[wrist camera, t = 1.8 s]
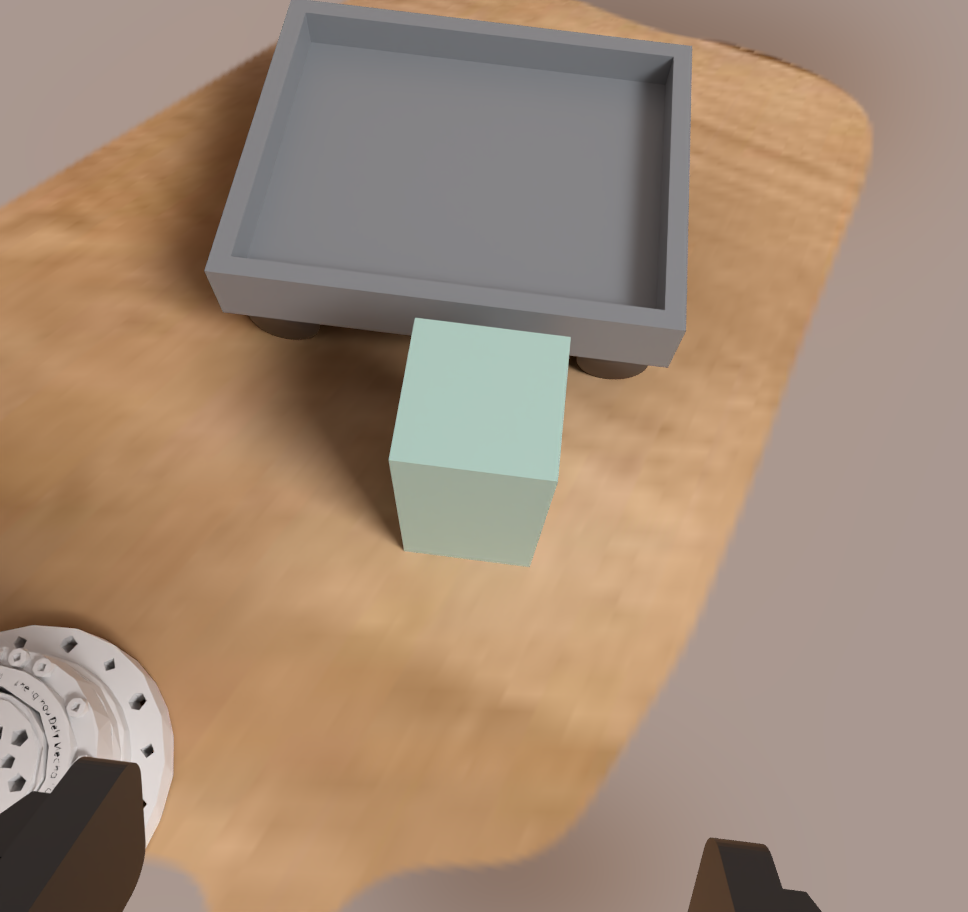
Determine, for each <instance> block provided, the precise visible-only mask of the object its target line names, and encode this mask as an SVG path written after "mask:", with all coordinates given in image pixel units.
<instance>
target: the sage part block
mask: <svg viewBox="0 0 968 912" xmlns="http://www.w3.org/2000/svg"><path fill="white" fill-rule="evenodd" d="M570 341H571V337H566V336H558V335H550V334H542V333H534V332H526V331H518V330H510V329H502V328H494V327H486V326H478V325H470V324H462V323H454V322H446V321H438V320H430V319H422V318H415V320H414V326H413V331H412V336H411V342H410V347H409V353H408V358H407V363H406V369H405V374H404V380H403V385H402V390H401V396H400V401H399V407H398V412H397V417H396V423H395V428H394V434H393V439H392V444H391V450H390V455H389V465H390V471H391V477H392V483H393V489H394V495H395V500H396V506H397V512H398V518H399V524H400V530H401V535H402V541H403V547H404V551H409V552H417V553H424V554H432V555H440V556H448V557H456V558H463V559H471V560H479V561H487V562H494V563H502V564H510V565H518V566H526V567H530V564H531V561H532V558H533V555H534V552H535V549H536V546H537V543H538V540H539V537H540V534H541V531H542V528H543V525H544V522H545V519H546V516H547V513H548V510H549V507H550V504H551V501H552V498H553V495H554V492H555V489H556V486H557V482H558V474H559V463H560V452H561V440H562V429H563V418H564V407H565V396H566V385H567V374H568V363H569V352H570Z"/></svg>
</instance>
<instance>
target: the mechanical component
mask: <svg viewBox="0 0 968 912" xmlns="http://www.w3.org/2000/svg"><path fill="white" fill-rule="evenodd" d="M74 646H75V647H74ZM145 699H146V700H147V701H146V702H145V704H144V705H143V706H142V707H141V704H140V702H141V701H143V700H145ZM173 747H174V736H173V731H172V726H171V722H170V717H169V712H168V708H167V706H166V704H165V702H164V699H163V697H162V695H161V693H160V691H159V689H158V687H157V685H156V683H155V682H154V680H153V679H152V678H151V677H150V676H149V674H148V673H147V672H146V671H145V670H144V668H143V667H142V666H141V665H140V664H139V662H138V661H137V660H135V659H134V658H132V657H131V656H129V655H128V654H126V653H125V652H124V651H122V650H121V649H119V648H118V647H116V646H115V645H113V644H112V643H110V642H108V641H107V640H105V639H103V638H100V637H98V636H95V635H92V634H90V633H87V632H85V631H82V630H79V629H75V628H63V627H51V626H39V625H31V626H26V627H21V628H17V629H12V630H7V631H2V632H0V813H2V812H3V811H5V810H6V809H7V808H9V807H10V806H12V805H13V804H14V803H16V802H17V801H19V800H20V799H22V798H23V797H24V796H26V795H27V794H29V793H30V792H32V791H37V792H45V793H51V792H52V790H53V789H54V788H55V787H56V785H57V784H58V783H59V781H60V780H61V779H62V777H63V776H64V775H65V773H66V772H67V771H68V770H69V768H70V767H71V766H72V765H73V763H74V762H75V761H76V760H78V759H79V758H81V757H84V756H86V757H94V758H102V759H110V760H118V761H126V762H133V763H137V764H138V765H139V767H140V770H141V779H142V794H143V800H144V801H145V802H146V803H147V805H146V806H145V807H144V824H145V840H146V847H147V845H148V843H149V841H150V839H151V837H152V835H153V833H154V831H155V829H156V827H157V826H158V824H159V822H160V820H161V816H162V813H163V809H164V806H165V802H166V799H167V795H168V792H169V788H170V785H171V781H172V778H173ZM153 750H154V753H152V751H153ZM151 753H152V754H151ZM146 847H145V849H146Z"/></svg>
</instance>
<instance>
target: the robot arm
mask: <svg viewBox="0 0 968 912" xmlns="http://www.w3.org/2000/svg"><path fill="white" fill-rule="evenodd" d="M145 847H146V840H145V824H144V809H143V794H142V779H141V770H140V767H139V765H138V764H137V763H133V762H126V761H118V760H110V759H102V758H94V757H86V756H84V757H81V758H79V759H78V760H76V761H75V762H74V763H73V765H72V766H71V767H70V768H69V770H68V771H67V772H66V773H65V775H64V776H63V777H62V779H61V780H60V781H59V783H58V784H57V785H56V787H55V788H54V789H53V790H52V792H51V793H45V792H37V791H32V792H30V793H29V794H27V795H26V796H24V797H23V798H22V799H20V800H19V801H17V802H16V803H14V804H13V805H12V806H10V807H9V808H7V809H6V810H5V811H3V812H2V813H0V912H123V910H124V908H125V906H126V904H127V902H128V901H129V899H130V897H131V895H132V893H133V891H134V889H135V887H136V884H137V882H138V879H139V876H140V873H141V870H142V866H143V862H144V856H145ZM688 912H821V910H820V909H819V908H818V907H817V905H816V904H815V903H814V901H813V900H812V899H811V898H810V896H809V895H808V894H807V893H806V892H802V891H795V890H787V889H782V886H781V883H780V879H779V876H778V873H777V871H776V867H775V864H774V862H773V858H772V856H771V853H770V851H769V849H768V848H767V847H766V845H764V844H757V843H750V842H742V841H734V840H726V839H718V838H709V839H708V840H707V842H706V844H705V848H704V851H703V855H702V859H701V863H700V867H699V871H698V875H697V878H696V882H695V886H694V890H693V894H692V897H691V902H690V905H689V909H688Z"/></svg>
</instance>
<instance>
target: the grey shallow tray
mask: <svg viewBox="0 0 968 912" xmlns="http://www.w3.org/2000/svg"><path fill="white" fill-rule="evenodd" d="M691 76H692V46H686V45H678V44H670V43H661V42H653V41H645V40H636V39H628V38H620V37H611V36H603V35H595V34H586V33H578V32H570V31H561V30H553V29H544V28H536V27H528V26H519V25H511V24H503V23H494V22H486V21H478V20H469V19H461V18H453V17H444V16H436V15H428V14H419V13H411V12H403V11H394V10H386V9H378V8H369V7H361V6H353V5H344V4H336V3H327V2H318V1H311V0H291V2H290V6H289V8H288V11H287V14H286V18H285V21H284V24H283V27H282V30H281V33H280V36H279V39H278V43H277V46H276V49H275V52H274V55H273V58H272V61H271V64H270V68H269V71H268V74H267V77H266V80H265V83H264V86H263V89H262V92H261V96H260V99H259V102H258V105H257V108H256V111H255V114H254V117H253V121H252V124H251V127H250V130H249V133H248V136H247V139H246V142H245V146H244V149H243V152H242V155H241V158H240V161H239V164H238V167H237V170H236V174H235V177H234V180H233V183H232V186H231V189H230V192H229V195H228V199H227V202H226V205H225V208H224V211H223V214H222V217H221V220H220V224H219V227H218V230H217V233H216V236H215V239H214V242H213V245H212V248H211V252H210V255H209V258H208V261H207V264H206V267H205V270H204V271H205V274H206V276H207V278H208V280H209V282H210V285H211V287H212V289H213V291H214V293H215V296H216V298H217V300H218V302H219V304H220V307H221V309H222V311H223V312H226V313H234V314H242V315H249V317H250V319H251V320H252V321H253V322H254V323H255V324H256V325H257V326H258V327H259V328H261V329H262V330H264V331H266V332H268V333H270V334H272V335H275V336H278V337H282V338H286V339H294V340H302V339H308V338H311V337H313V336H315V335H316V334H317V333H318V331H319V328H320V324H322V325H330V326H338V327H346V328H354V329H362V330H370V331H378V332H386V333H394V334H402V335H410V336H412V331H413V326H414V320H415V318H422V319H430V320H438V321H446V322H454V323H462V324H470V325H478V326H486V327H494V328H502V329H510V330H518V331H526V332H534V333H542V334H550V335H558V336H566V337H571V341H570V352H569V355H570V356H577V364H578V365H579V367H580V368H581V369H582V370H583V371H585V372H586V373H588V374H590V375H593V376H596V377H599V378H604V379H625V378H629V377H633V376H636V375H638V374H640V373H641V372H643V371H644V370H645V369H646V368H647V366H648V365H650V366H658V367H666V368H668V366H669V364H670V362H671V360H672V358H673V356H674V354H675V352H676V350H677V348H678V346H679V344H680V342H681V340H682V338H683V336H684V334H685V332H686V303H687V258H688V212H689V167H690V122H691Z"/></svg>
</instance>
